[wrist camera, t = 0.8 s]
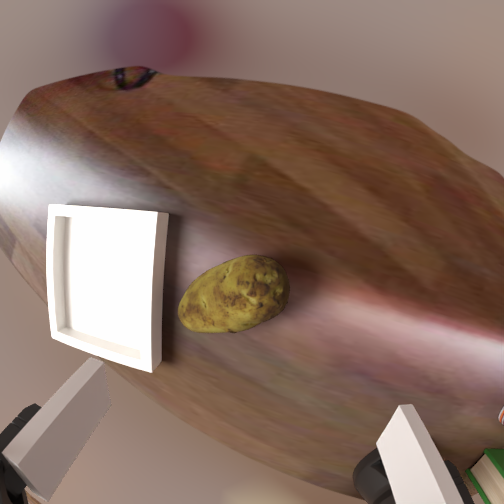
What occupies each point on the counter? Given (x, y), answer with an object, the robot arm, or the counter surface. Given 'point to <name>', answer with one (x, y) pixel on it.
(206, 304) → the potato
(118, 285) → the tray
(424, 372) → the counter surface
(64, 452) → the robot arm
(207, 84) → the counter surface
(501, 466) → the hardback book
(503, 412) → the pill bottle
